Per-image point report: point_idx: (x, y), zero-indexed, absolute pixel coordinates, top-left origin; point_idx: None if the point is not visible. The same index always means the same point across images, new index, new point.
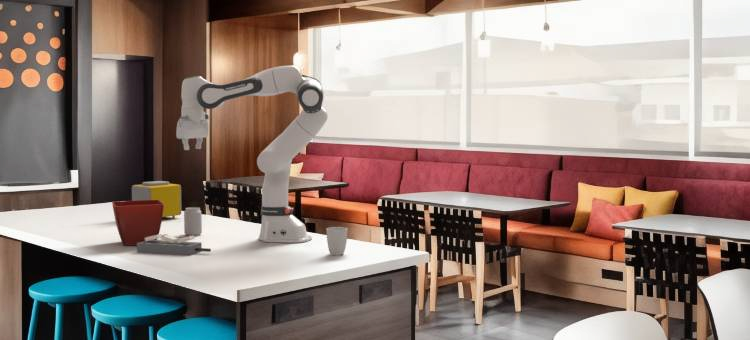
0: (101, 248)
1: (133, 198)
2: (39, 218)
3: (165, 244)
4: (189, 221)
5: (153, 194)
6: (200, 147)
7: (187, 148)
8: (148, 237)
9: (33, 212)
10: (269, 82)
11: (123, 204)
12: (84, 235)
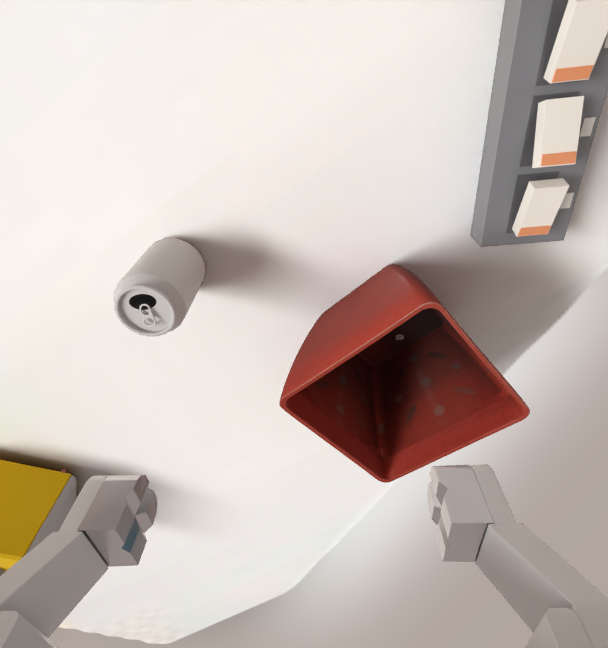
0: (491, 351)
1: None
2: (187, 600)
3: (595, 117)
4: (192, 282)
5: (26, 534)
6: (97, 486)
7: (495, 480)
8: (553, 218)
9: (142, 627)
10: None
11: (364, 456)
12: (320, 471)
